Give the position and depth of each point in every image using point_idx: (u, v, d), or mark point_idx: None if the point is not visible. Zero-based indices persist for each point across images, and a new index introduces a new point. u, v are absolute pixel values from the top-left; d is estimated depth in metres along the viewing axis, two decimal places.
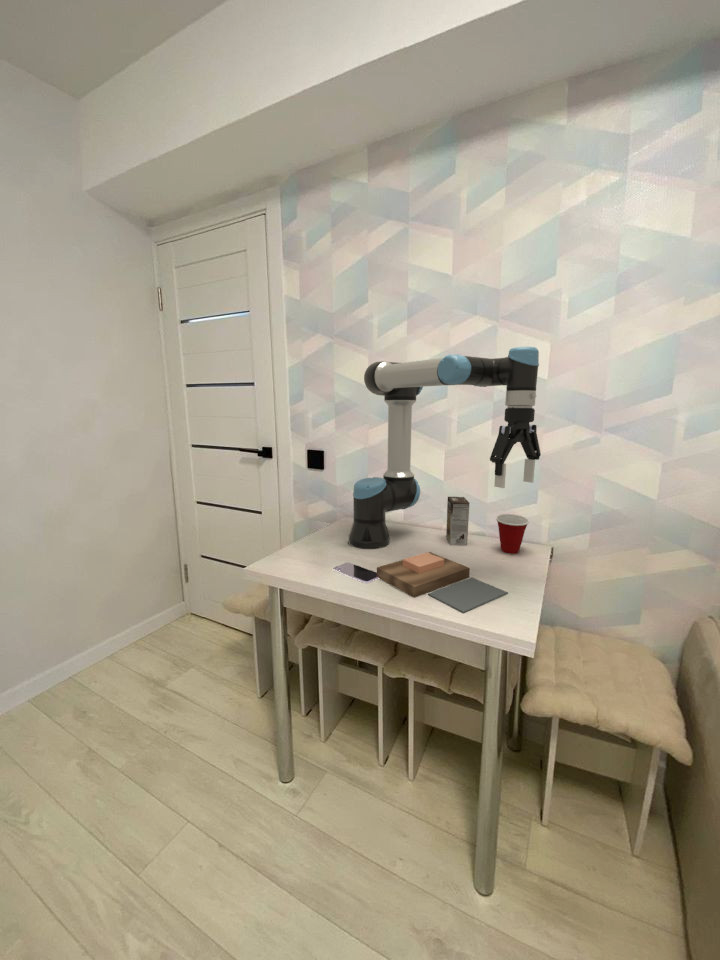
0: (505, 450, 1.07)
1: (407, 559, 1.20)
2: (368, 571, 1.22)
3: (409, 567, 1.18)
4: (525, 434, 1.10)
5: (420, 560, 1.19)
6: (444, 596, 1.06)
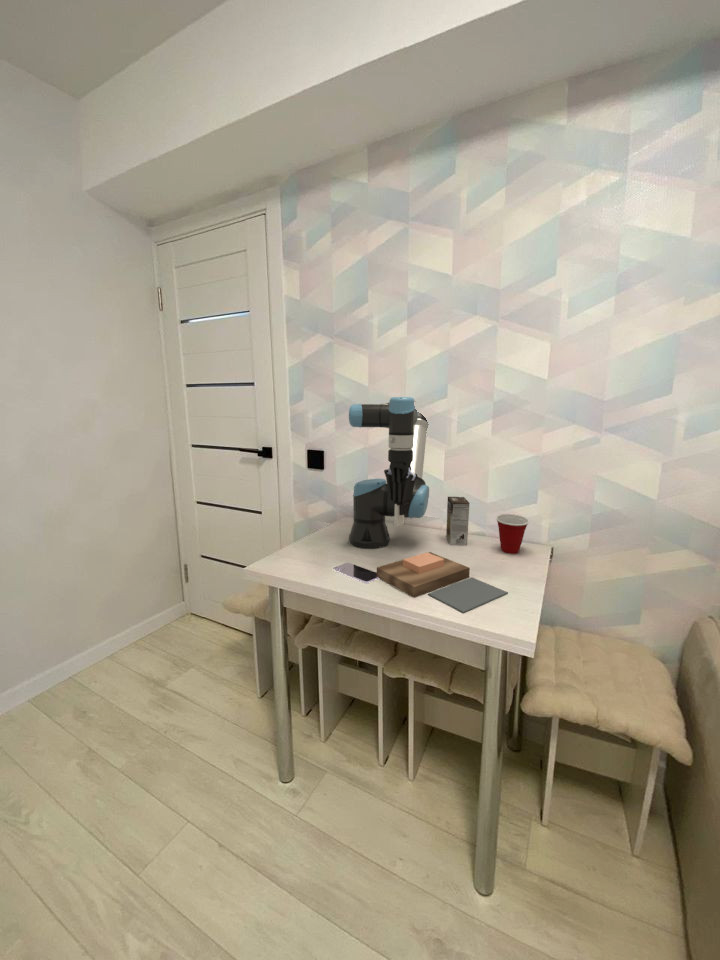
0: None
1: (407, 559, 1.20)
2: (368, 571, 1.22)
3: (409, 567, 1.18)
4: None
5: (420, 560, 1.19)
6: (444, 596, 1.06)
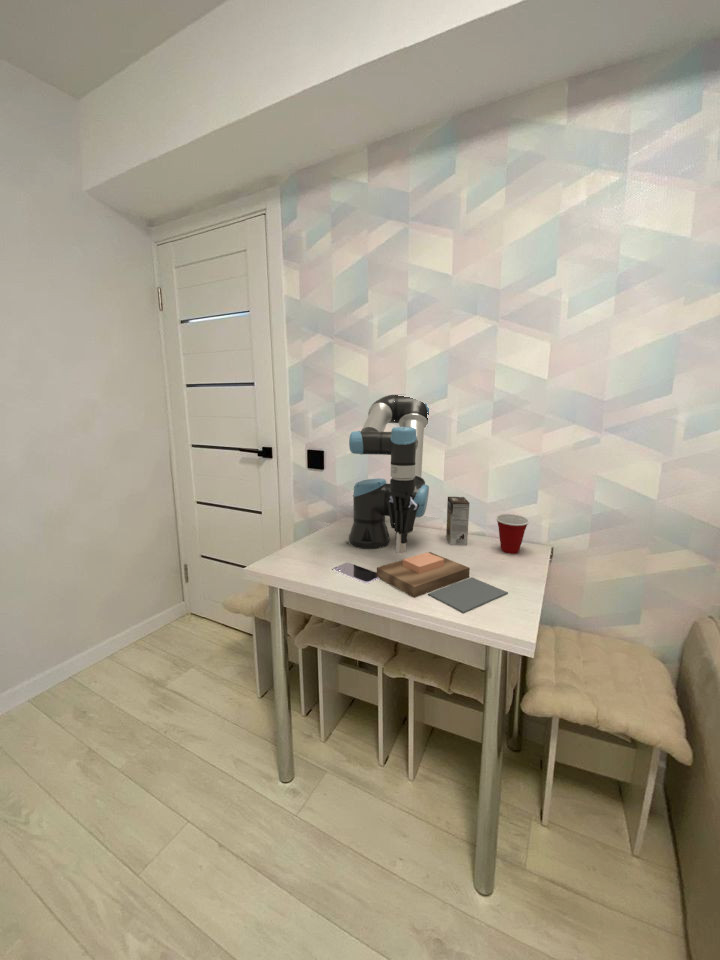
0: None
1: (407, 559, 1.20)
2: (368, 571, 1.22)
3: (409, 567, 1.18)
4: None
5: (420, 560, 1.19)
6: (444, 596, 1.06)
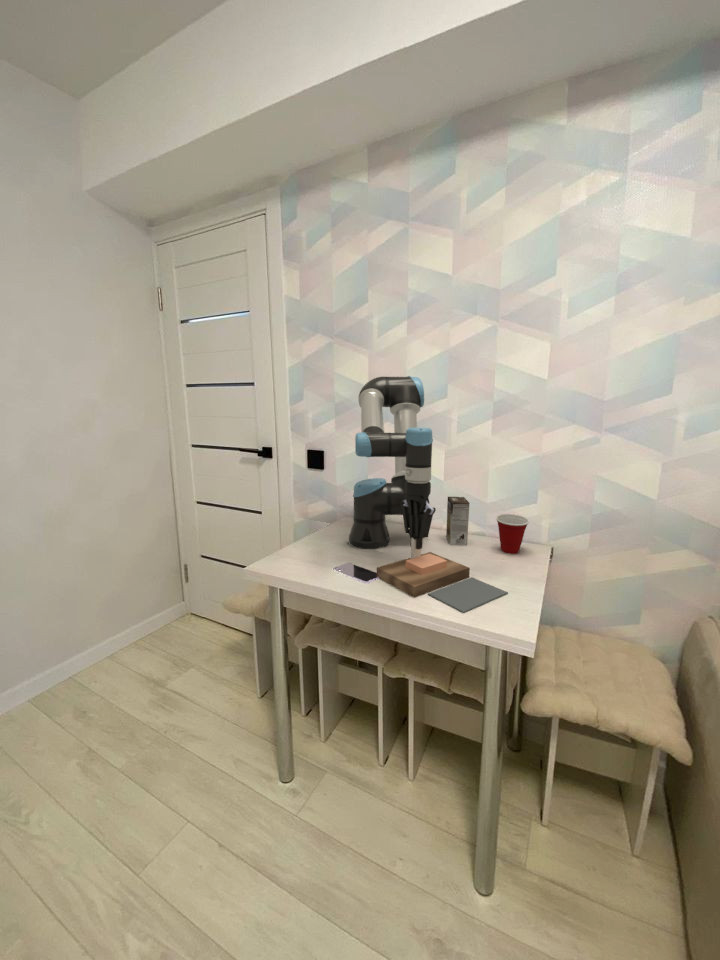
0: None
1: (410, 560, 1.19)
2: (368, 571, 1.22)
3: (412, 568, 1.17)
4: None
5: (423, 561, 1.18)
6: (444, 596, 1.06)
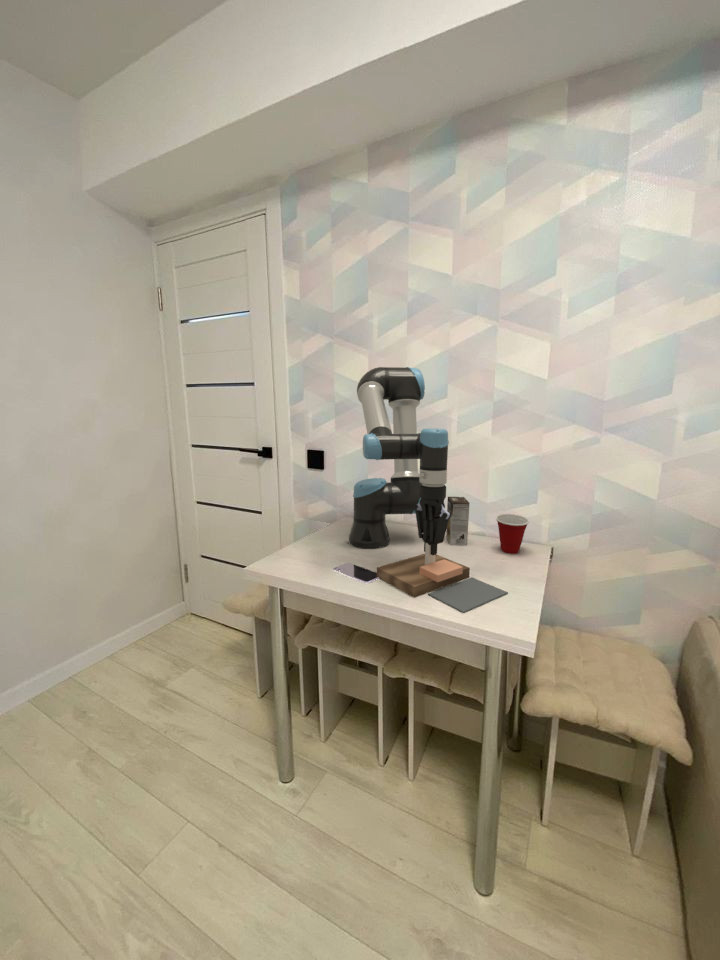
0: None
1: (424, 567, 1.14)
2: (368, 571, 1.22)
3: (426, 575, 1.12)
4: None
5: (438, 567, 1.13)
6: (444, 596, 1.06)
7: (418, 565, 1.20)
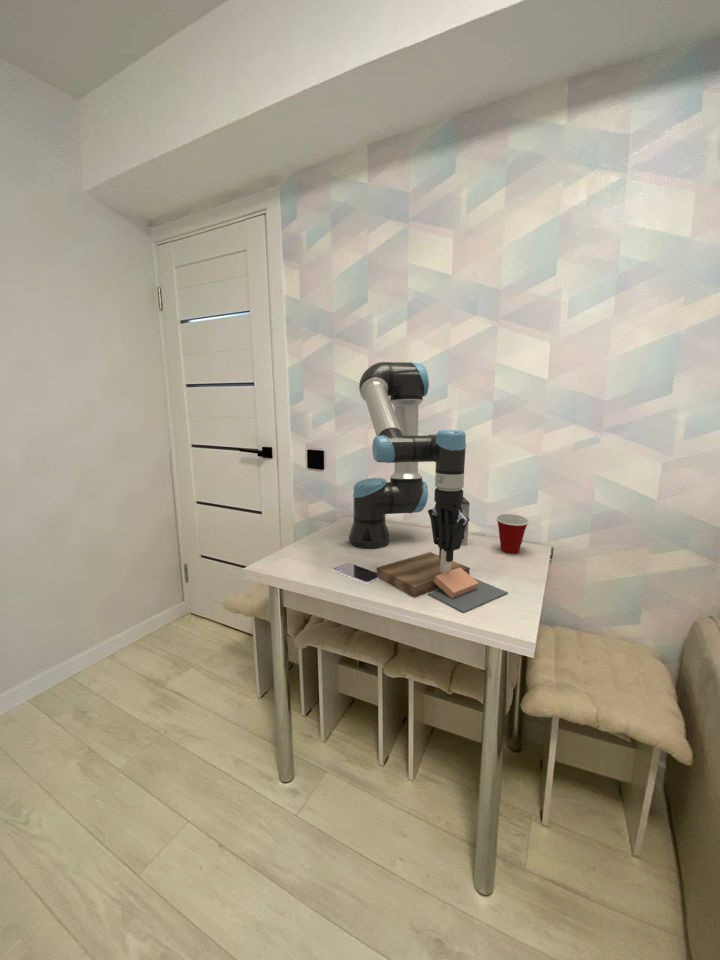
0: None
1: (440, 576, 1.09)
2: (368, 571, 1.22)
3: (441, 587, 1.08)
4: None
5: (454, 580, 1.09)
6: (444, 596, 1.06)
7: (418, 565, 1.20)
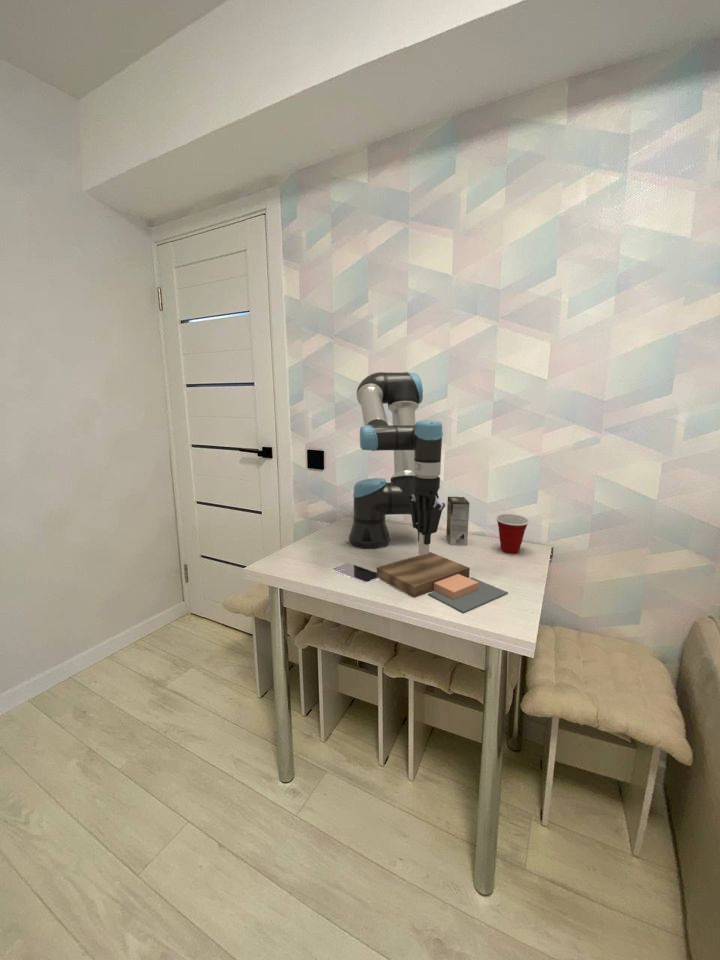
0: None
1: (439, 582, 1.10)
2: (368, 571, 1.22)
3: (441, 592, 1.08)
4: None
5: (453, 583, 1.09)
6: (444, 596, 1.06)
7: (418, 565, 1.20)
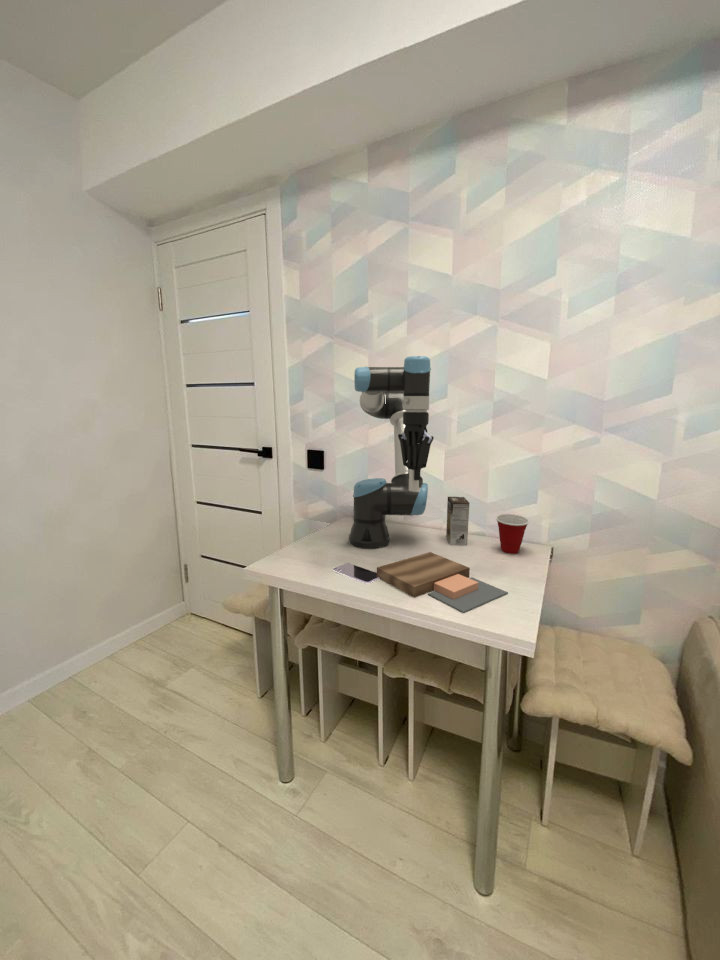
0: None
1: (439, 582, 1.10)
2: (368, 571, 1.22)
3: (441, 592, 1.08)
4: None
5: (453, 583, 1.09)
6: (444, 596, 1.06)
7: (418, 565, 1.20)
